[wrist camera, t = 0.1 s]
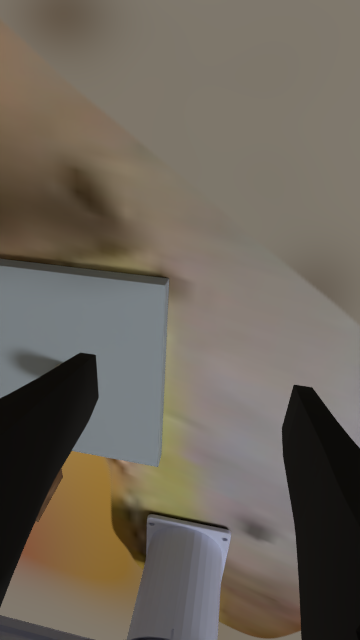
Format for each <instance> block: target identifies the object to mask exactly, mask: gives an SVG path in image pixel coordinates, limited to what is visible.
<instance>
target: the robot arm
mask: <svg viewBox="0 0 360 640" xmlns="http://www.w3.org/2000/svg"><path fill="white" fill-rule="evenodd" d="M98 398H99V392H98V378H97V363H96V355H94V354H87V353H79V354H77V355H75V356H73V357H72V358H70V359H68V360H67V361H65V362H63V363H62V364H60V365H58V366H57V367H55V368H54V369H52V370H50V371H49V372H47V373H45V374H44V375H42V376H40V377H39V378H37V379H35V380H33V381H32V382H30V383H28V384H26V385H24V386H22V387H21V388H19V389H17V390H15V391H13V392H11V393H10V394H8V395H6V396H4V397H2V398H0V606H1V604H2V601H3V599H4V596H5V594H6V591H7V588H8V586H9V583H10V580H11V578H12V575H13V573H14V570H15V568H16V566H17V563H18V561H19V558H20V556H21V553H22V551H23V549H24V546H25V544H26V541H27V539H28V537H29V534H30V532H31V530H32V527H33V525H34V523H35V521H36V518H37V516H38V514H39V512H40V509H41V507H42V505H43V503H44V501H45V499H46V497H47V494H48V492H49V490H50V488H51V486H52V484H53V482H54V480H55V478H56V476H57V475H58V473H59V471H60V469H61V468H62V466H63V464H64V462H65V461H66V459H67V458H68V456H69V454H70V452H71V451H72V449H73V447H74V446H75V444H76V442H77V441H78V439H79V437H80V436H81V434H82V432H83V431H84V429H85V427H86V425H87V424H88V422H89V420H90V417H91V415H92V413H93V411H94V408H95V406H96V403H97V401H98ZM282 443H283V458H284V464H285V470H286V476H287V482H288V488H289V494H290V500H291V506H292V512H293V517H294V525H295V532H296V545H297V559H298V575H299V592H300V613H301V636H302V640H360V448H359V447H358V446H357V445H356V444H355V442H354V441H353V440H352V439H351V438H350V437H349V435H348V434H347V433H346V432H345V430H344V429H343V428H342V427H341V425H340V424H339V423H338V422H337V420H336V419H335V418H334V416H333V415H332V414H331V412H330V411H329V410H328V408H327V407H326V406H325V404H324V403H323V402H322V400H321V399H320V397H319V396H318V395H317V393H316V392H315V391H314V389H313V388H312V387H306V386H299V385H294V386H293V390H292V393H291V397H290V401H289V404H288V408H287V412H286V415H285V419H284V423H283V426H282ZM230 538H231V532H230V531H229V530H227V529H222V528H217V527H213V526H208V525H203V524H198V523H193V522H188V521H183V520H179V519H174V518H169V517H164V516H159V515H154V514H150V515H148V518H147V544H146V562H145V566H144V570H143V575H142V578H141V582H140V587H139V591H138V595H137V599H136V603H135V608H134V611H133V616H132V620H131V624H130V628H129V632H128V636H127V640H217V637H218V620H219V603H220V586H221V579H222V575H223V570H224V566H225V561H226V557H227V552H228V548H229V543H230ZM0 640H94V639H90V638H86V637H82V636H78V635H74V634H71V633H67V632H63V631H59V630H55V629H51V628H48V627H44V626H40V625H36V624H32V623H28V622H24V621H21V620H17V619H13V618H9V617H5V616H1V615H0Z"/></svg>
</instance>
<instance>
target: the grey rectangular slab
mask: <svg viewBox="0 0 360 640" xmlns="http://www.w3.org/2000/svg"><path fill="white" fill-rule="evenodd" d="M168 292H169V278H161V277H152V276H144V275H135V274H127V273H118V272H110V271H101V270H92V269H84V268H75V267H67V266H58V265H50V264H41V263H33V262H24V261H16V260H7V259H0V398H2V397H4V396H6V395H8V394H10V393H11V392H13V391H15V390H17V389H19V388H21V387H22V386H24V385H26V384H28V383H30V382H32V381H33V380H35V379H37V378H39V377H40V376H42V375H44V374H45V373H47V372H49V371H50V370H52V369H54V368H55V367H57V366H58V365H60V364H62V363H63V362H65V361H67V360H68V359H70V358H72V357H73V356H75V355H77V354H79V353H87V354H94V355H96V363H97V378H98V392H99V398H98V401H97V403H96V406H95V408H94V411H93V413H92V415H91V417H90V420H89V422H88V424H87V425H86V427H85V429H84V431H83V432H82V434H81V436H80V437H79V439H78V441H77V442H76V444H75V446H74V447H73V449H72V451H76V452H81V453H87V454H92V455H97V456H103V457H108V458H113V459H118V460H124V461H129V462H134V463H140V464H145V465H150V466H156V467H158V465H159V461H160V458H161V448H162V426H163V404H164V381H165V359H166V337H167V314H168Z"/></svg>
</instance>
